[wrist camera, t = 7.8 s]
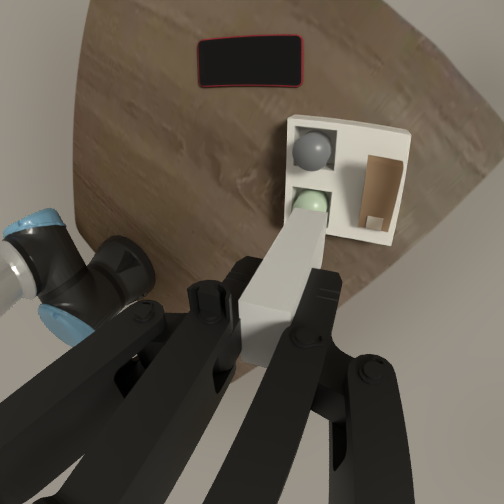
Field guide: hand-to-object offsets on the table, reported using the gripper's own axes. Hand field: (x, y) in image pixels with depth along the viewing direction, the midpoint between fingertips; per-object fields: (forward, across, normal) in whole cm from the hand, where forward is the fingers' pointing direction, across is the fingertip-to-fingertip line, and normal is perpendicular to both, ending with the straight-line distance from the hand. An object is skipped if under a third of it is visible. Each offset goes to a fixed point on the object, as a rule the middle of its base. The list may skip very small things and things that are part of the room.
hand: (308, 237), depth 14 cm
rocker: (+23, +4, -6) cm, 24 cm away
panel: (+29, 0, -6) cm, 30 cm away
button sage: (+28, -4, -10) cm, 30 cm away
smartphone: (+30, -14, +9) cm, 34 cm away
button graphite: (+26, -4, -2) cm, 27 cm away
